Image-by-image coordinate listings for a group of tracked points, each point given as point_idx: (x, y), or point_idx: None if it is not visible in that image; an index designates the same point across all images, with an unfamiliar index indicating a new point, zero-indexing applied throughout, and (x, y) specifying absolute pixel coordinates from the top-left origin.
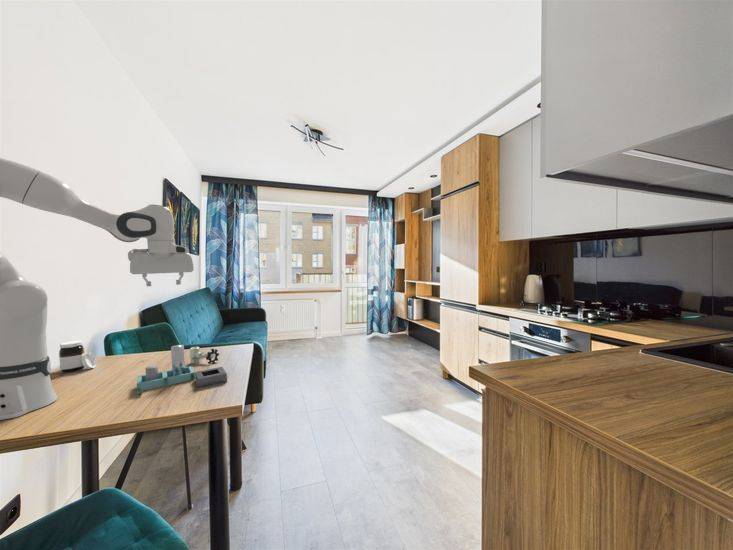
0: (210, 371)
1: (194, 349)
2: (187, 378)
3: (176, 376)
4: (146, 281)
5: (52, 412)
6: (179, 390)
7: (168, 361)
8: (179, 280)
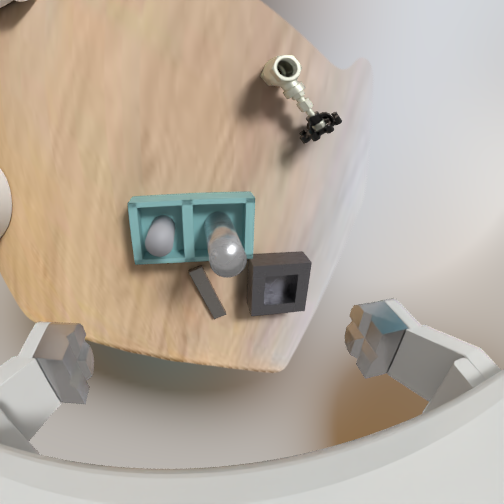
0: (283, 273)
1: (284, 80)
2: None
3: None
4: (45, 402)
5: (30, 259)
6: (215, 279)
7: (206, 11)
8: (390, 367)
